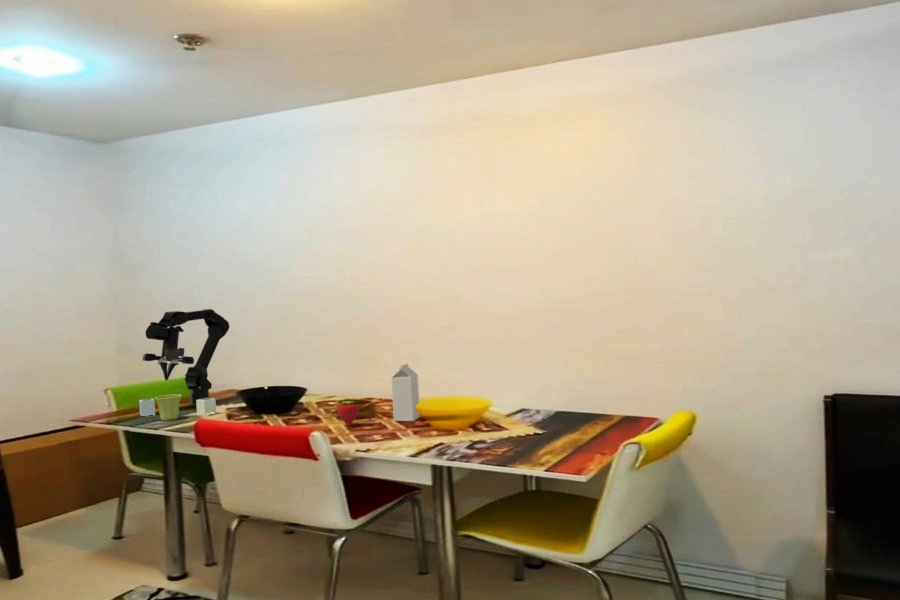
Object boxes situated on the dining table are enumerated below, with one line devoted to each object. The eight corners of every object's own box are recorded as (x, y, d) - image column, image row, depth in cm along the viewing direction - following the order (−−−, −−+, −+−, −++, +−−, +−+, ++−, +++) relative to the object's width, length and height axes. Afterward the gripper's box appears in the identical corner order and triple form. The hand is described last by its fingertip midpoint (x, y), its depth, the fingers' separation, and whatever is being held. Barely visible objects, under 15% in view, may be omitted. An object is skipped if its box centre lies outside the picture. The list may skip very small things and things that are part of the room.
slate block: (153, 413, 271) (152, 397, 271) (155, 415, 266) (154, 399, 266) (140, 415, 268) (139, 399, 268) (141, 417, 264) (140, 400, 264)
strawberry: (352, 428, 223) (351, 398, 223) (334, 427, 227) (332, 397, 226) (363, 424, 229) (361, 395, 228) (344, 423, 232) (343, 394, 232)
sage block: (208, 413, 266) (207, 397, 266) (216, 414, 263) (215, 397, 263) (197, 415, 262) (196, 399, 261) (204, 416, 259) (204, 400, 259)
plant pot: (150, 421, 253) (149, 398, 253) (166, 416, 262) (165, 394, 262) (172, 421, 250) (171, 398, 250) (187, 416, 260) (186, 394, 259)
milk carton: (419, 417, 237) (417, 363, 237) (413, 421, 230) (410, 365, 230) (400, 417, 239) (398, 363, 238) (393, 421, 232) (390, 365, 232)
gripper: (149, 338, 265) (144, 378, 263) (198, 342, 275) (194, 381, 272) (144, 340, 274) (140, 379, 272) (192, 344, 284) (188, 381, 282)
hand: (166, 380), depth 274 cm, fingers closed
